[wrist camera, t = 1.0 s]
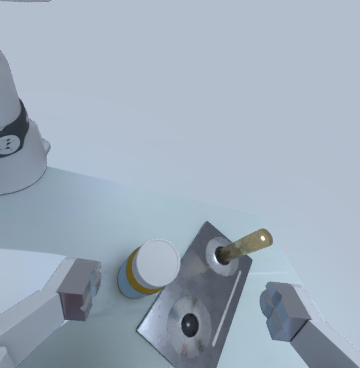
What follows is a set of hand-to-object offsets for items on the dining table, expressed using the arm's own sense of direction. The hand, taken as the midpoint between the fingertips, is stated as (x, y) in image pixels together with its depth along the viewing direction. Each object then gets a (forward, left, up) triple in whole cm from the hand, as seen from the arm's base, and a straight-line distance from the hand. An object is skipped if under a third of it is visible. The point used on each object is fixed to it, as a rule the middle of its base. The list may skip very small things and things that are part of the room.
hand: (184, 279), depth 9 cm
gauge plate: (+13, +13, -31) cm, 36 cm away
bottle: (0, +6, -32) cm, 32 cm away
